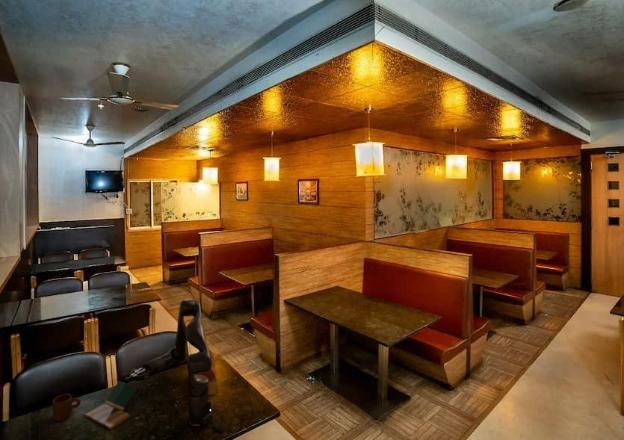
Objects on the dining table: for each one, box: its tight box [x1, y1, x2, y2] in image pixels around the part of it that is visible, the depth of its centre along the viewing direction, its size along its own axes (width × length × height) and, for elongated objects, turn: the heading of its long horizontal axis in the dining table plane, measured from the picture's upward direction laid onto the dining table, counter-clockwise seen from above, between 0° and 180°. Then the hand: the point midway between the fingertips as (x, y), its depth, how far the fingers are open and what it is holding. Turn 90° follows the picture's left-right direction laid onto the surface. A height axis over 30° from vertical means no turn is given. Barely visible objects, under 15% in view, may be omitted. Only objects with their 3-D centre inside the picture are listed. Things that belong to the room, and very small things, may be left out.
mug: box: [52, 393, 82, 422], centre depth 169 cm, size 12×8×9 cm, turn 97°
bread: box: [196, 350, 218, 396], centre depth 197 cm, size 25×12×15 cm, turn 18°
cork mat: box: [84, 402, 132, 430], centre depth 169 cm, size 20×10×1 cm, turn 63°
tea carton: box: [104, 380, 136, 412], centre depth 175 cm, size 6×11×8 cm
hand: (124, 381), depth 176 cm, fingers closed
